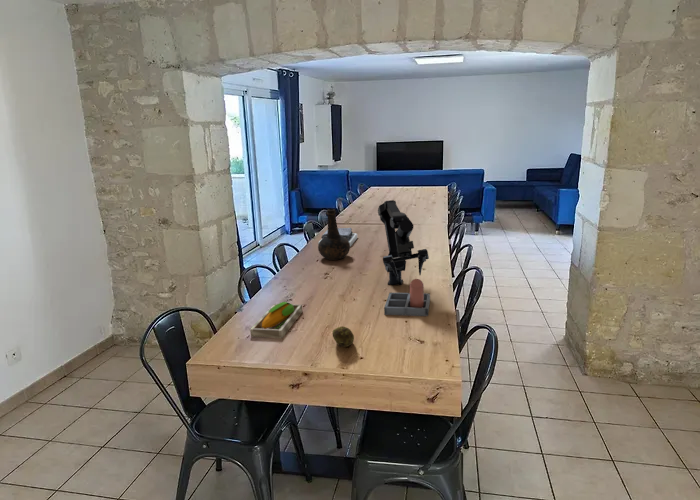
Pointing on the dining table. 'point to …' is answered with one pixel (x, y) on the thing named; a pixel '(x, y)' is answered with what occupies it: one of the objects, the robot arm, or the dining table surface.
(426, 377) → the dining table surface
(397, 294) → the gray compartment tray
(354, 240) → the towel frame
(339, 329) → the potato
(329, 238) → the brown vase
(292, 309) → the corn
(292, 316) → the frame
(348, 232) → the towel
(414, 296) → the pink dome-topped cylinder
